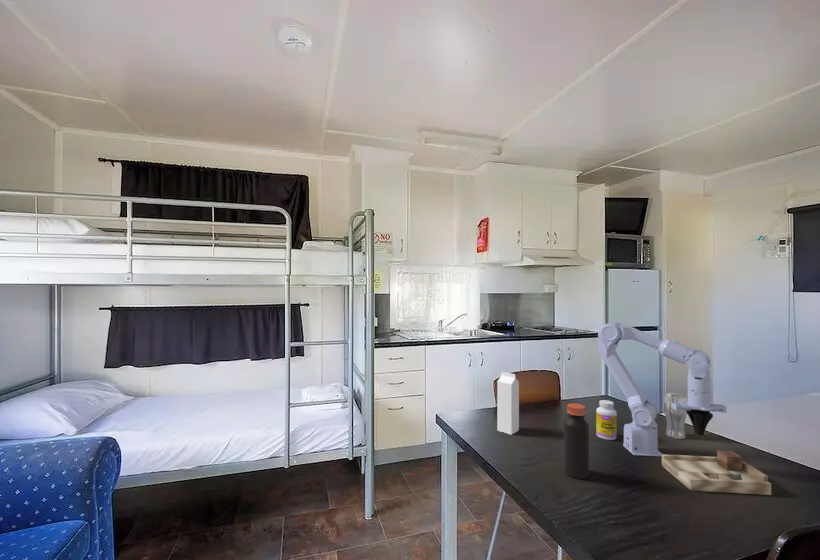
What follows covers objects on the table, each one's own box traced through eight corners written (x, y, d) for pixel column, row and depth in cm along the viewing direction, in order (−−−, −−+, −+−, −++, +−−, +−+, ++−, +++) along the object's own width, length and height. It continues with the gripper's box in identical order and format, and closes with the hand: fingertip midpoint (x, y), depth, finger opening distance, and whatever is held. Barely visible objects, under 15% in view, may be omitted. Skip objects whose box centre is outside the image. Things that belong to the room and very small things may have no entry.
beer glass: (687, 441, 134) (686, 399, 134) (663, 436, 138) (663, 395, 138) (687, 435, 140) (687, 394, 140) (664, 430, 144) (664, 391, 144)
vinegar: (574, 481, 107) (574, 410, 107) (558, 469, 113) (558, 403, 114) (594, 477, 109) (594, 408, 109) (577, 466, 115) (577, 401, 115)
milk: (511, 435, 139) (511, 375, 139) (497, 430, 143) (497, 373, 143) (519, 430, 144) (519, 372, 144) (504, 426, 148) (504, 370, 148)
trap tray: (690, 490, 102) (690, 473, 102) (661, 465, 116) (661, 451, 116) (771, 494, 100) (771, 477, 100) (731, 469, 114) (731, 454, 114)
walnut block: (727, 470, 108) (727, 456, 108) (717, 463, 112) (717, 450, 112) (742, 471, 108) (742, 457, 108) (731, 464, 112) (731, 451, 112)
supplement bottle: (598, 439, 135) (598, 403, 135) (594, 432, 142) (594, 398, 142) (619, 441, 134) (619, 405, 134) (613, 434, 140) (613, 399, 140)
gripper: (681, 393, 114) (682, 438, 114) (733, 395, 112) (734, 440, 112) (668, 387, 121) (668, 429, 121) (717, 388, 119) (717, 431, 119)
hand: (699, 434), depth 117 cm, fingers closed
